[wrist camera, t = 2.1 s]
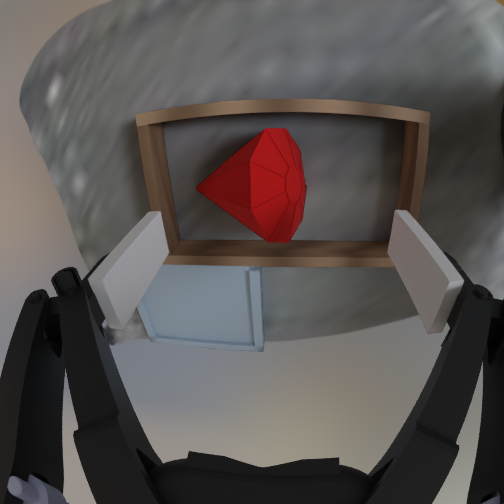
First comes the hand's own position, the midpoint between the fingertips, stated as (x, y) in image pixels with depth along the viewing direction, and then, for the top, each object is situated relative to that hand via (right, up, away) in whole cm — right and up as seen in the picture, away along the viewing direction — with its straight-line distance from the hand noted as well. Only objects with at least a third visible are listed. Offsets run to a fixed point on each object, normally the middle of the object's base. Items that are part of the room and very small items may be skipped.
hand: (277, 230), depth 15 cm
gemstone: (-1, +5, +10) cm, 11 cm away
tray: (-8, -7, +17) cm, 20 cm away
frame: (+1, +5, +9) cm, 10 cm away
